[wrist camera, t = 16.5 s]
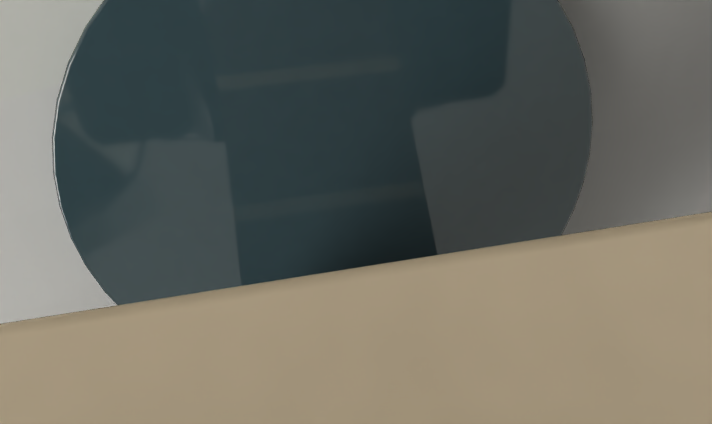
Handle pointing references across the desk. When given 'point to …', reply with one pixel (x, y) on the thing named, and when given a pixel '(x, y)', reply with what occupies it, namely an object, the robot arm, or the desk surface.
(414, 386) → the cake slice
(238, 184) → the plate
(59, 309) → the desk surface
